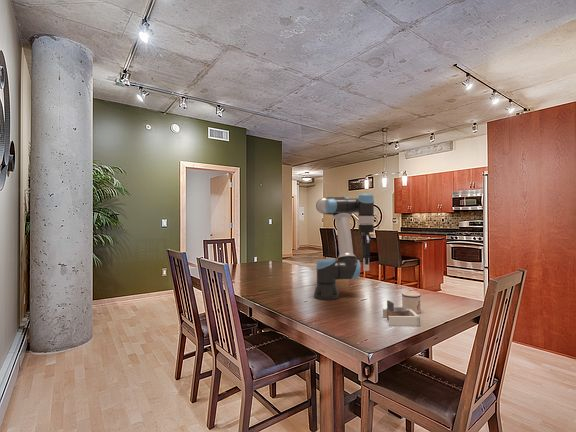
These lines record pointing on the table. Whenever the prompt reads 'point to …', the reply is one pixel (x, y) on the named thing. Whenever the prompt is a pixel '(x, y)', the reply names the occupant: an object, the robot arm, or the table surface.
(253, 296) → the table surface
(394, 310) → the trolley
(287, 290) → the table surface
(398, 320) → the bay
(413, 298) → the teacup with lid
